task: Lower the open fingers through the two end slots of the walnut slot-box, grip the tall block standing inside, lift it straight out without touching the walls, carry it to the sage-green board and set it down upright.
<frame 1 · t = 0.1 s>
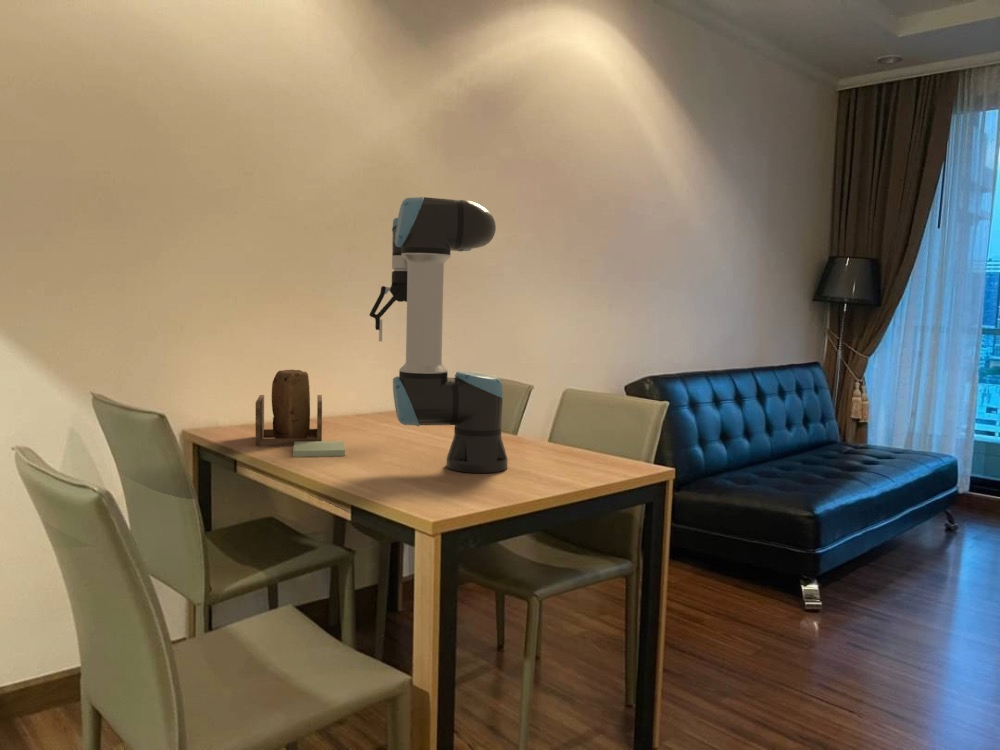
hand: (403, 341, 234), 28 cm above the table, fingers open, 13 cm apart
block: (289, 441, 220), resting in slot box
pad: (319, 451, 206), on the table
slot box: (289, 440, 220), on the table
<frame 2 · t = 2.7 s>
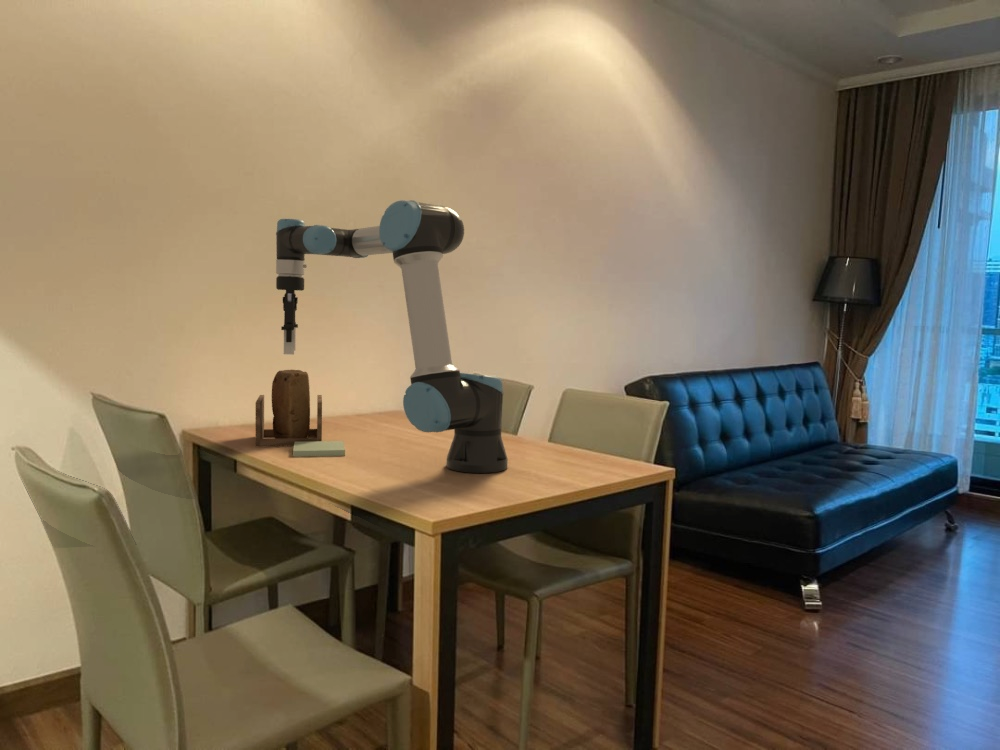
hand: (289, 352, 217), 25 cm above the table, fingers open, 13 cm apart
nothing on the table moved.
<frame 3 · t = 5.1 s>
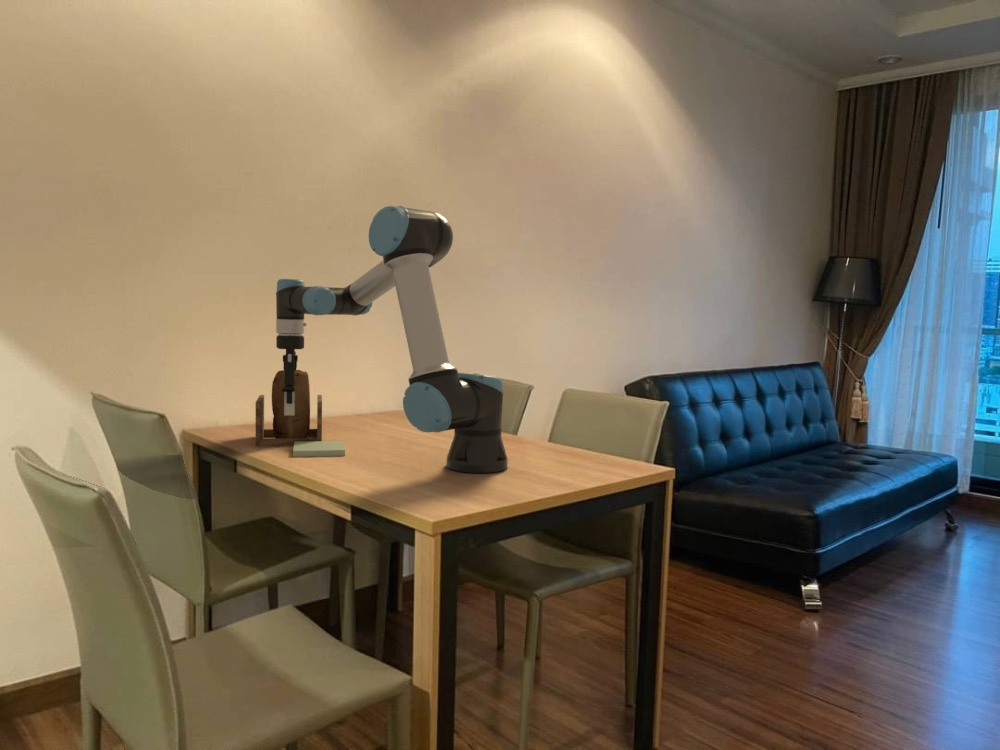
hand: (290, 412, 219), 8 cm above the table, fingers closed on block, 11 cm apart
block: (290, 441, 220), resting in slot box, touching gripper
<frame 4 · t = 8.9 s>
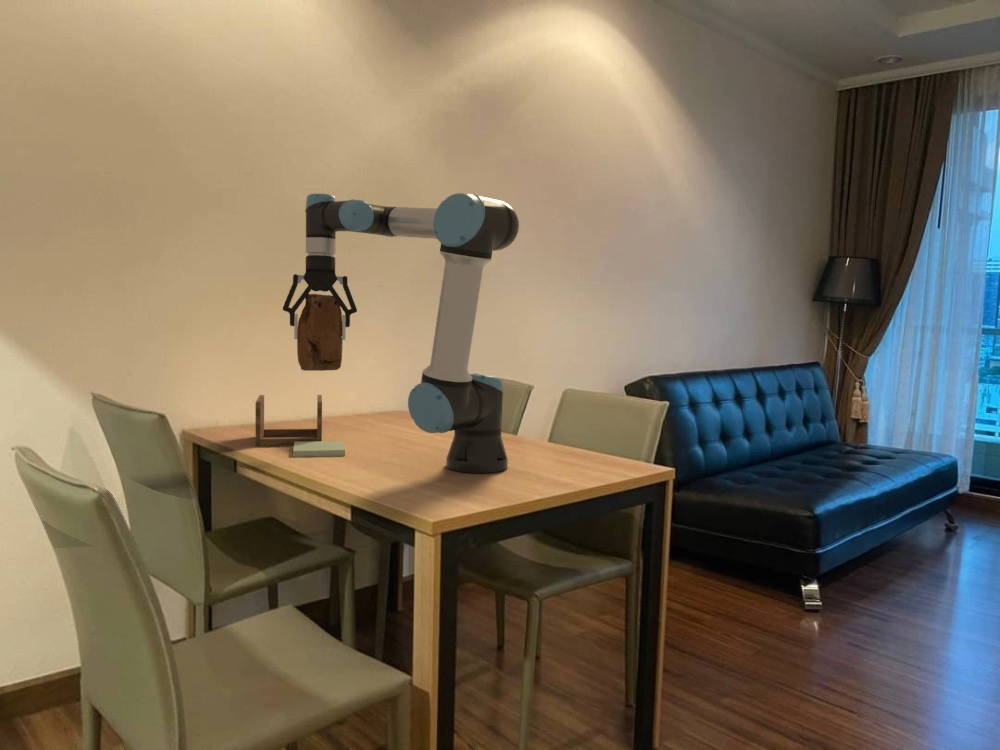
hand: (320, 339, 203), 30 cm above the table, fingers closed on block, 11 cm apart
block: (319, 371, 204), point 21 cm above the table, touching gripper
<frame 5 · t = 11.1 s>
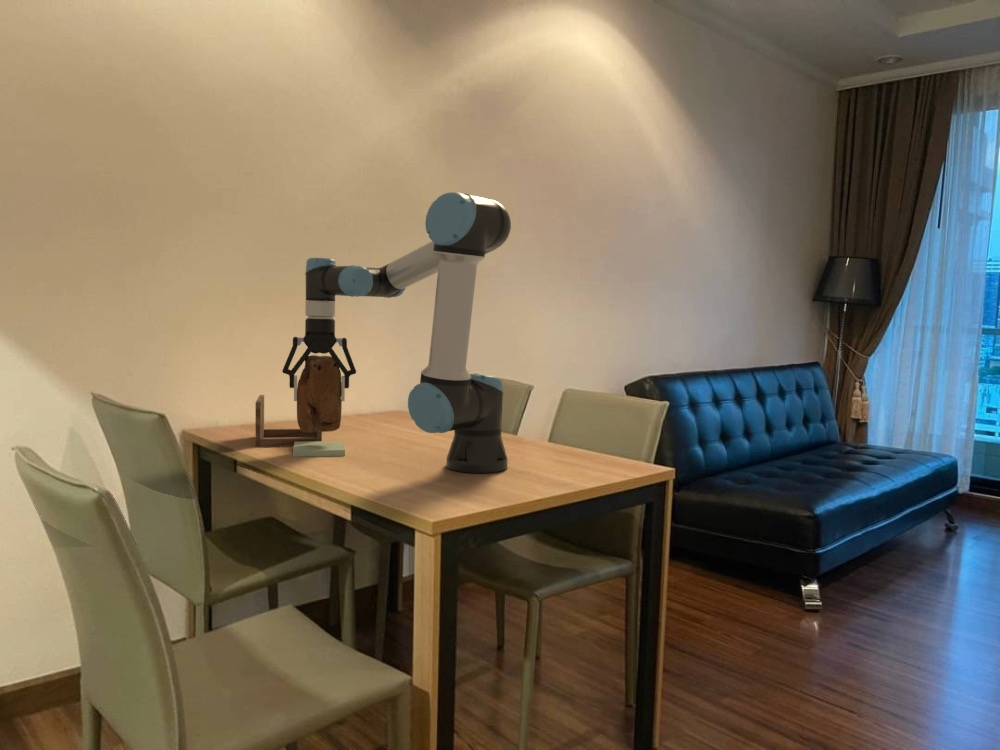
hand: (319, 400, 205), 14 cm above the table, fingers closed on block, 11 cm apart
block: (318, 432, 205), point 5 cm above the table, touching gripper
when the fingers open (11 cm above the table, at t = 12.7 s): block drops 1 cm, resting on pad.
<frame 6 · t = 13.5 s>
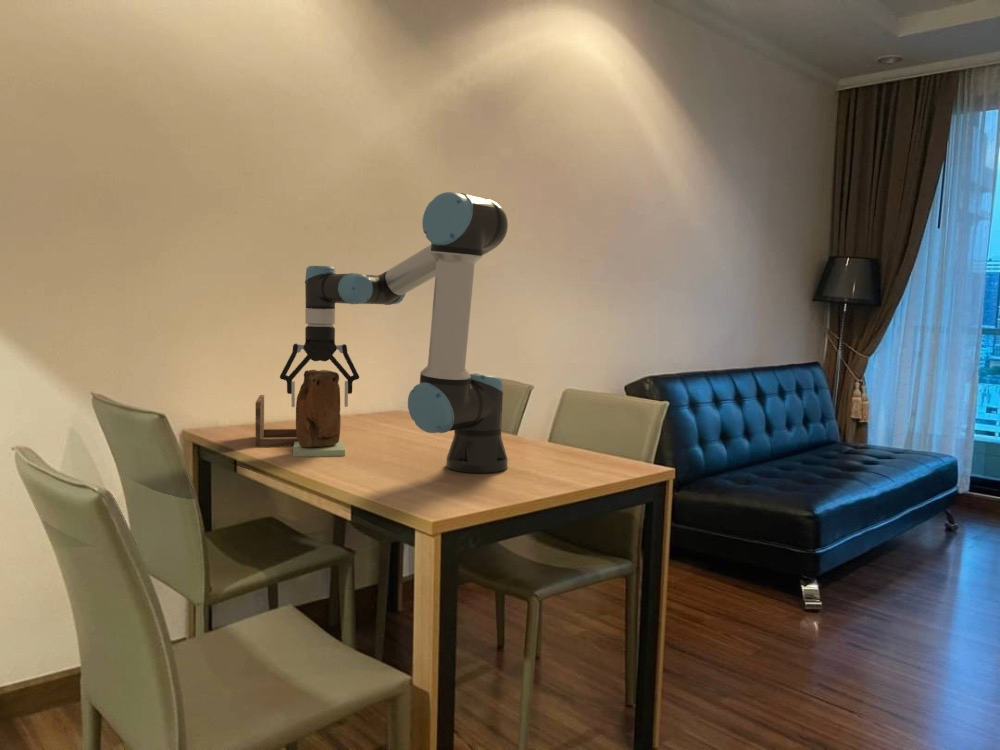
hand: (319, 406, 205), 12 cm above the table, fingers open, 13 cm apart
block: (317, 446, 206), point 1 cm above the table, touching pad
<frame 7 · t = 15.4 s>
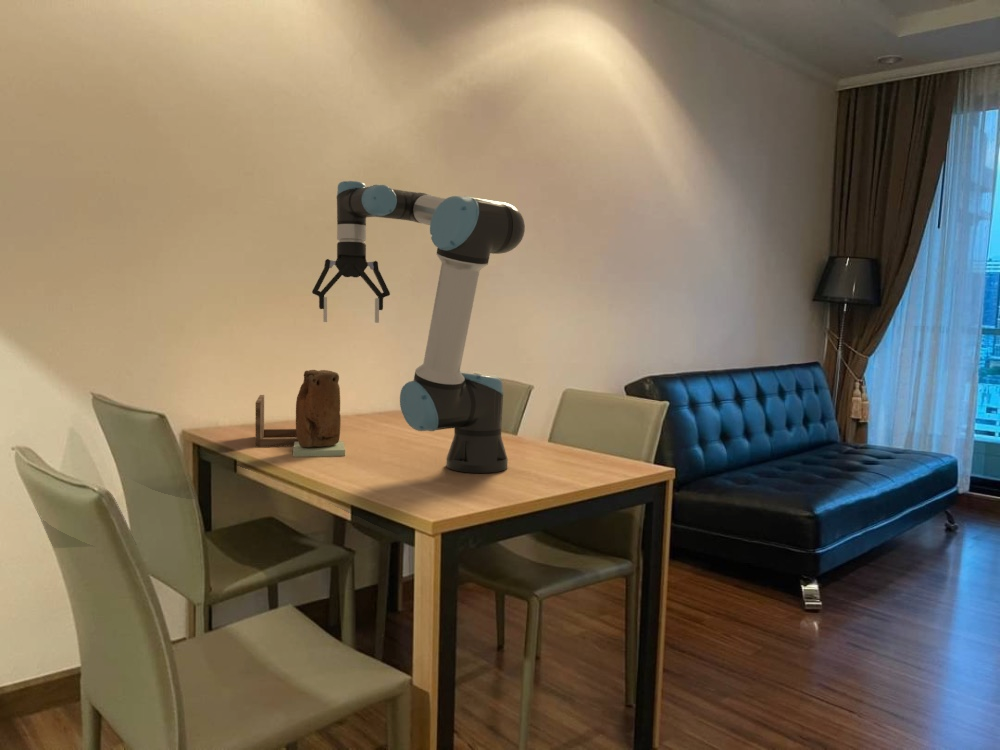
hand: (351, 322, 207), 34 cm above the table, fingers open, 13 cm apart
nothing on the table moved.
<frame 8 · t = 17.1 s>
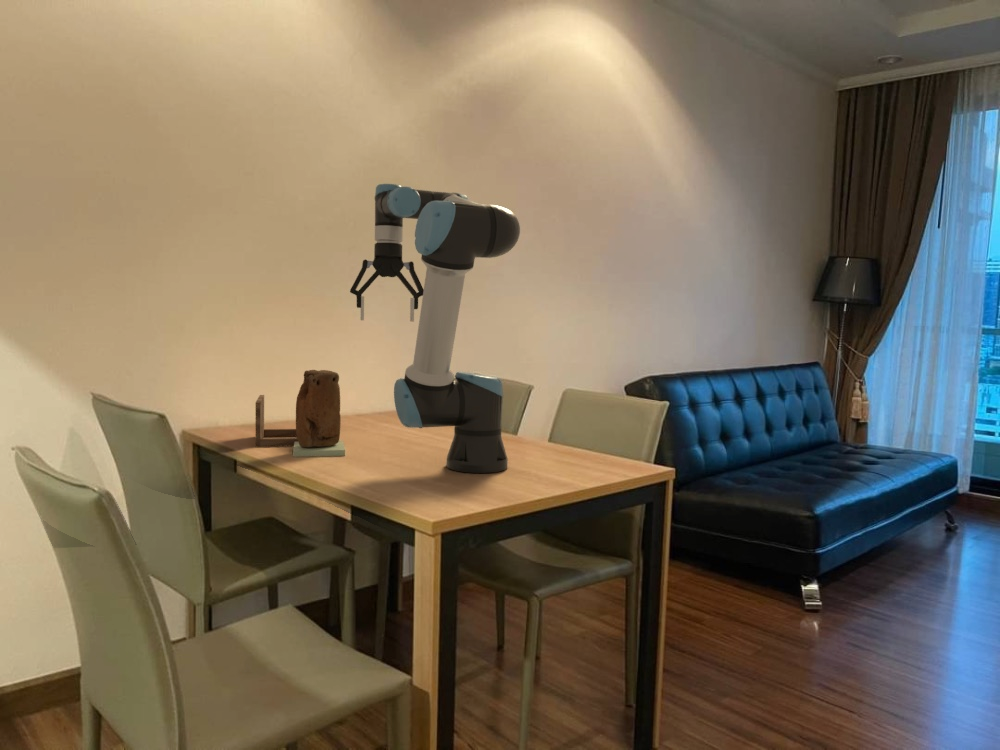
hand: (387, 321, 214), 35 cm above the table, fingers open, 13 cm apart
nothing on the table moved.
at the end: block 0.4 cm from the pad (horizontally); block tilted 0°; the gripper is holding nothing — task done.
